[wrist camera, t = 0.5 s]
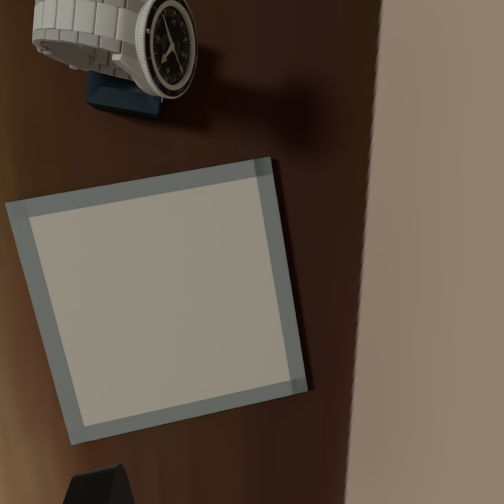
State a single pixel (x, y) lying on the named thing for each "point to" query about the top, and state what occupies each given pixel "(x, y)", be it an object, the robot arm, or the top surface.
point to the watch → (122, 49)
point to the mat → (161, 297)
